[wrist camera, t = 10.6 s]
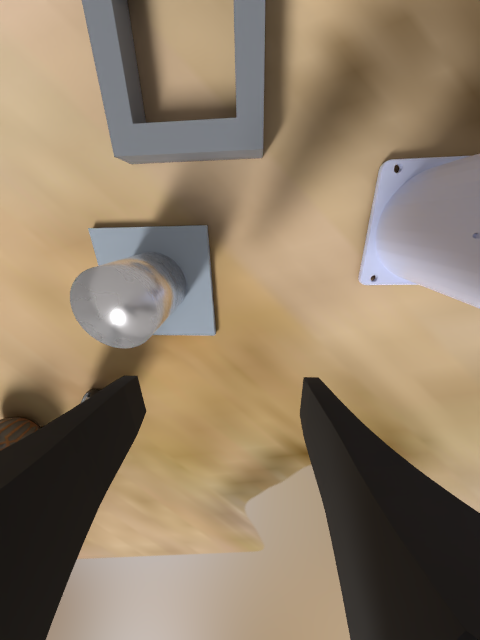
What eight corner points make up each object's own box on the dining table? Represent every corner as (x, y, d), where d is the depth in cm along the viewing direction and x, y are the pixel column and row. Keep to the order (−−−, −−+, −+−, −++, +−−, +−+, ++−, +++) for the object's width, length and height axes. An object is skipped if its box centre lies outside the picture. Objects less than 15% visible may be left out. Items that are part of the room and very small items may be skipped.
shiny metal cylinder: (183, 252, 17) (150, 268, 12) (188, 313, 19) (161, 350, 14) (120, 250, 17) (58, 264, 12) (131, 310, 19) (83, 345, 14)
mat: (207, 225, 17) (206, 225, 16) (215, 332, 20) (214, 335, 20) (92, 228, 17) (88, 228, 17) (120, 332, 21) (117, 334, 21)
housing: (265, -61, 11) (266, -115, 9) (262, 158, 15) (263, 149, 13) (93, -41, 12) (63, -89, 10) (130, 164, 15) (114, 156, 14)
